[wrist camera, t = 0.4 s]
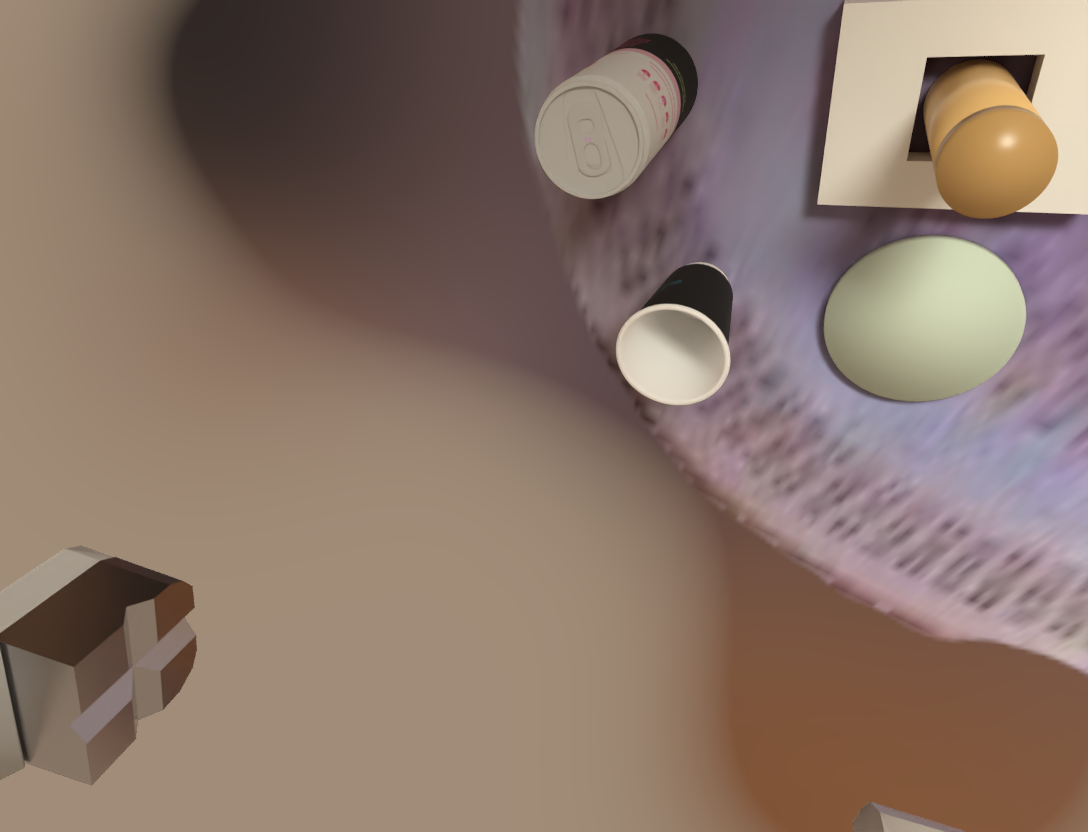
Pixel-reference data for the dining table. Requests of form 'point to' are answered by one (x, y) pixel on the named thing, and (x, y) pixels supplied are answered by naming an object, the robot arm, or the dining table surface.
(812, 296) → the dining table surface
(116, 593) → the robot arm
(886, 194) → the socket block
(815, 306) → the dining table surface
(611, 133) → the beverage can
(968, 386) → the mat
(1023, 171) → the plug
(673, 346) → the dixie cup
